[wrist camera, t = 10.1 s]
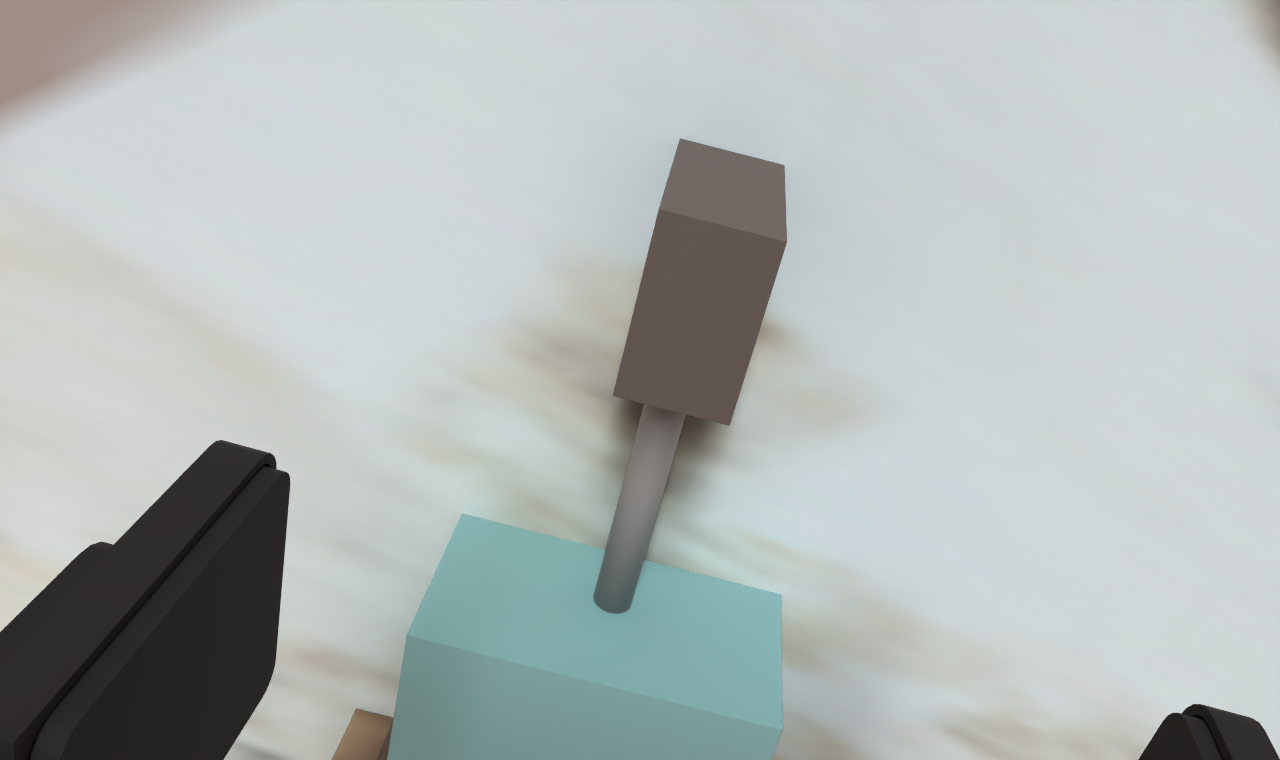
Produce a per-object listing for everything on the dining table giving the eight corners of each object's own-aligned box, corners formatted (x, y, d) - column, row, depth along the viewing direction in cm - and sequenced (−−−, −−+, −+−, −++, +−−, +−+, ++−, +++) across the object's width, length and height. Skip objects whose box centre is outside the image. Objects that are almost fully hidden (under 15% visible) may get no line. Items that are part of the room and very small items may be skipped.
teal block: (927, 202, 24) (962, 286, 19) (716, 768, 32) (707, 916, 28) (536, 101, 24) (482, 163, 19) (429, 696, 32) (375, 833, 28)
